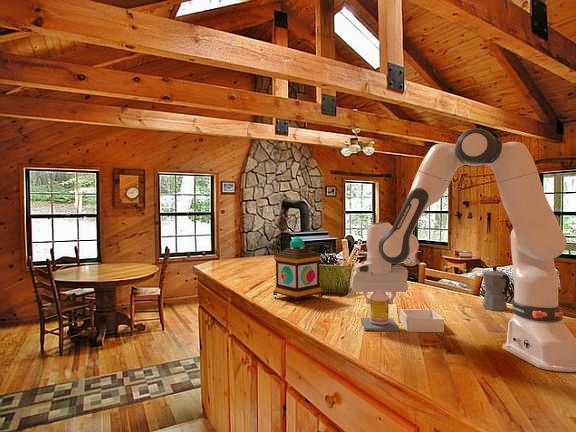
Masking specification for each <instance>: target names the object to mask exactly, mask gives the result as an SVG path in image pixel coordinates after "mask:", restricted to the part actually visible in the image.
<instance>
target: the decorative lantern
mask: <svg viewBox="0 0 576 432" xmlns="http://www.w3.org/2000/svg"><path fill="white" fill-rule="evenodd" d="M273 258H274V261H275V287H274V289H273V293H272V294H273V295H277V296H278V295H282V296H286V297H290V298H294V302H295V303H296V302H298V303H299V302H300V299H301V298H305V297H308V296H309V297H310V296H312V295H314V296H315V295H318V297H322V298H323V294H324V293H323V290H322V288H321V286H320V261H321V258H322V255H321V254H320V253H318V252H317V251H313V250H312V249H310V248H309V247H308V246H305V241H304V240H303V238H301V237H299V236H295V237H293V238H292V239H291V241H290V243H289V246H288V245H287V247H286V248H285V249H283V250H282V251H278V252H277V253H275V254H274V255H273ZM273 295H272V296H273Z"/></svg>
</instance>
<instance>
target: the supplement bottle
mask: <svg viewBox="0 0 576 432" xmlns="http://www.w3.org/2000/svg"><path fill="white" fill-rule="evenodd" d="M369 298H370V299H371V301H370V302H371V304H369V318H370V321H371V322H372V323H374V324H378V325H384V324H387V323H388V318H389V310H390V309H389V307H390V306H389V305H390V304H389V298H390V297H389V295H387V294H386V292H385V291H384V289H376V292H372V294H370V297H369Z"/></svg>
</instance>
